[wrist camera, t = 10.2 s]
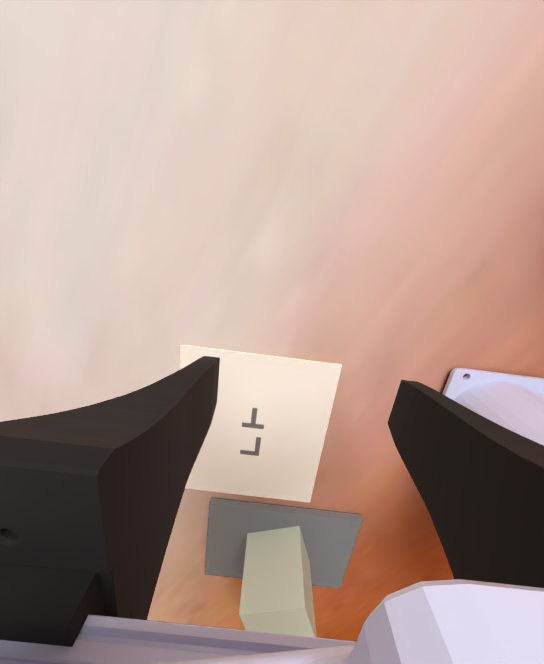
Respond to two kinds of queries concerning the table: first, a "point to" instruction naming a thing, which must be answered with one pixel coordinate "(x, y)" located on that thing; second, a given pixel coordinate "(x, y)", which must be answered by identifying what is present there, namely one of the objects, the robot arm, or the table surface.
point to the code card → (264, 424)
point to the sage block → (277, 584)
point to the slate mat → (247, 517)
